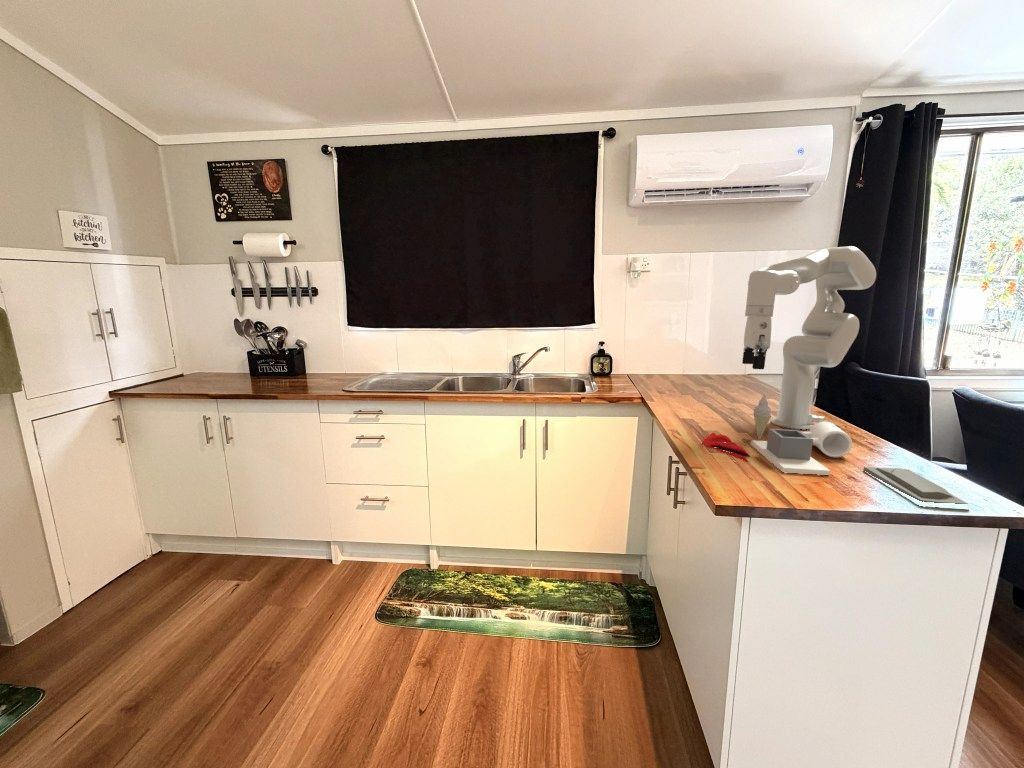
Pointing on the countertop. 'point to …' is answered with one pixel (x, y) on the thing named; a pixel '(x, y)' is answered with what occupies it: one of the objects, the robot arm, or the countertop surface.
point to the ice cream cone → (762, 416)
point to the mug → (830, 439)
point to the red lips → (724, 445)
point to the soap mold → (913, 485)
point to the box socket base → (790, 452)
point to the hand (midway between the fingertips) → (752, 366)
